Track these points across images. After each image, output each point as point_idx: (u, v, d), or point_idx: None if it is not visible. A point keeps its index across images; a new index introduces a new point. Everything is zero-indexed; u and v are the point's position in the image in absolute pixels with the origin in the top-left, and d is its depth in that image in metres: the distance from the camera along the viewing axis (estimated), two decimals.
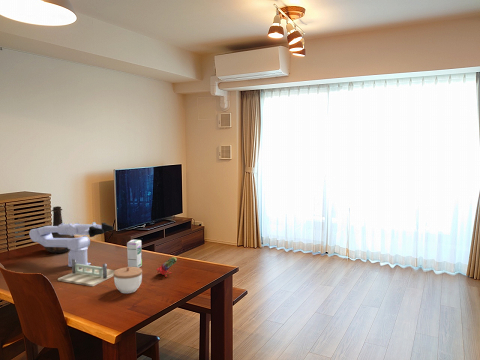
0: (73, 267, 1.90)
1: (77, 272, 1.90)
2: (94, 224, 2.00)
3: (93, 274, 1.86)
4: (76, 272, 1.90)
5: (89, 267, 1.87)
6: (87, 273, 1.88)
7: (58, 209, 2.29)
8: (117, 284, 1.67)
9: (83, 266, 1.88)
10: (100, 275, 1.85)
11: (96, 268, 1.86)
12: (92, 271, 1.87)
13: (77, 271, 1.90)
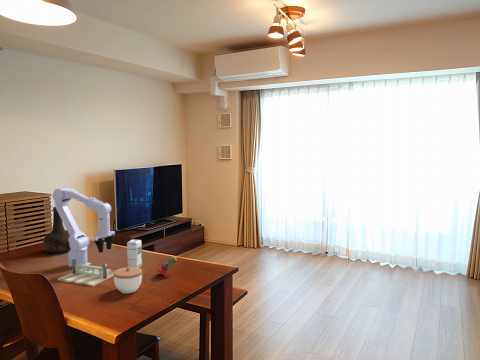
0: (73, 267, 1.90)
1: (77, 272, 1.90)
2: (108, 235, 2.00)
3: (93, 274, 1.86)
4: (76, 272, 1.90)
5: (89, 267, 1.87)
6: (87, 273, 1.88)
7: None
8: (117, 284, 1.67)
9: (83, 266, 1.88)
10: (100, 275, 1.85)
11: (96, 268, 1.86)
12: (92, 271, 1.87)
13: (77, 271, 1.90)
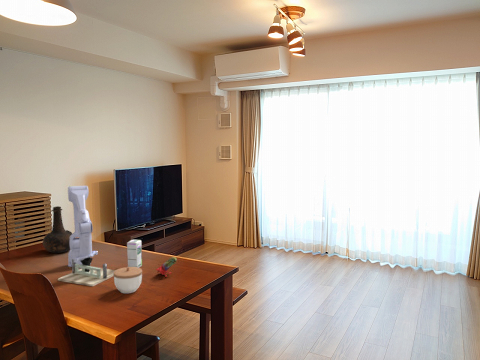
0: (73, 267, 1.90)
1: (77, 272, 1.90)
2: None
3: (91, 275, 1.85)
4: (76, 272, 1.90)
5: (87, 268, 1.86)
6: (86, 273, 1.87)
7: (58, 209, 2.29)
8: (117, 284, 1.67)
9: (82, 266, 1.88)
10: (98, 276, 1.84)
11: (94, 269, 1.84)
12: (90, 272, 1.86)
13: (77, 271, 1.90)
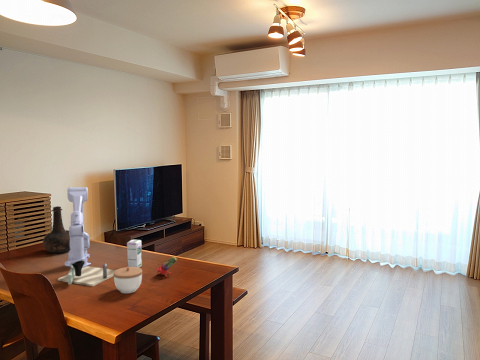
0: None
1: None
2: None
3: None
4: None
5: (69, 271, 1.81)
6: None
7: (58, 209, 2.29)
8: (117, 284, 1.67)
9: (71, 268, 1.85)
10: None
11: (68, 274, 1.77)
12: None
13: None
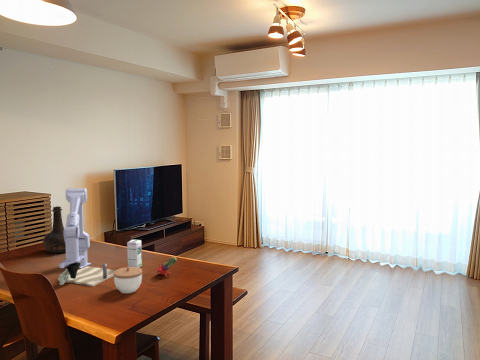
0: None
1: None
2: None
3: None
4: None
5: None
6: None
7: (58, 209, 2.29)
8: (117, 284, 1.67)
9: None
10: (60, 283, 1.75)
11: None
12: (64, 276, 1.79)
13: None
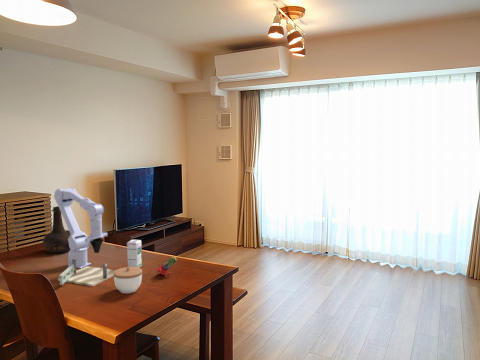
0: None
1: None
2: (100, 237, 1.97)
3: None
4: None
5: None
6: None
7: (58, 209, 2.29)
8: (117, 284, 1.67)
9: None
10: (60, 283, 1.75)
11: None
12: (64, 276, 1.79)
13: (70, 272, 1.89)
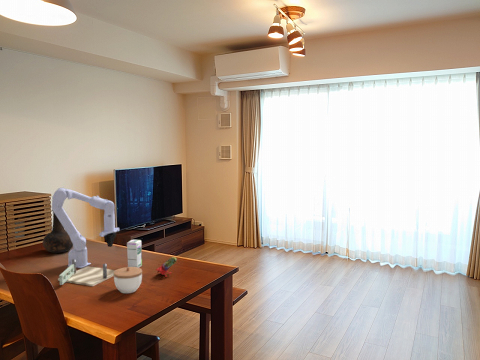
0: None
1: None
2: (113, 232, 2.09)
3: None
4: None
5: None
6: None
7: None
8: (117, 284, 1.67)
9: None
10: (60, 283, 1.75)
11: None
12: (64, 276, 1.79)
13: (70, 272, 1.89)
